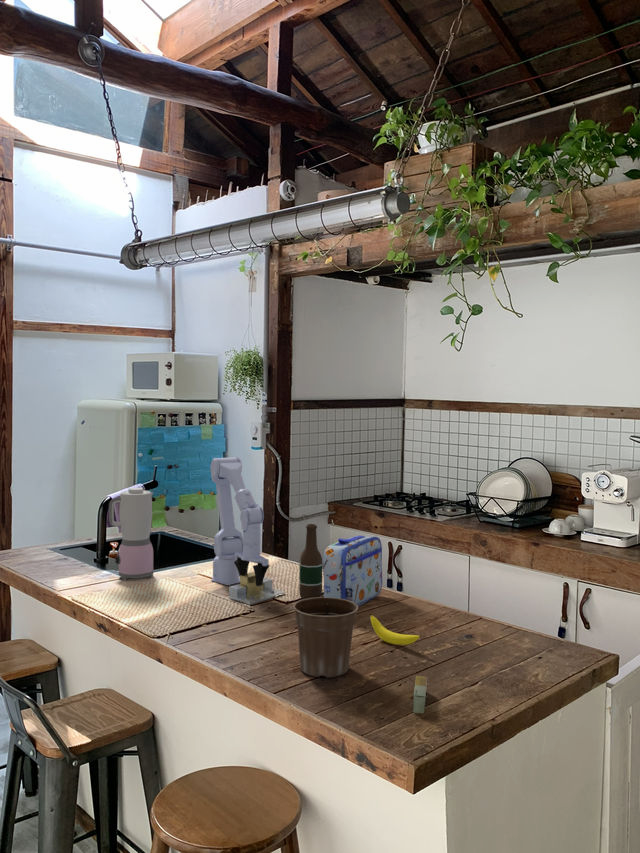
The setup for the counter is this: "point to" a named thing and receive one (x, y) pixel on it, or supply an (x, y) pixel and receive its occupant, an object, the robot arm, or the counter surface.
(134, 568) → the blender
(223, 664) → the counter surface
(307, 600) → the plant pot
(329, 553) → the lunch box
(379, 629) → the banana
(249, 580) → the pale gold block
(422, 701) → the medication box
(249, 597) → the fixed leaf
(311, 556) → the beer bottle
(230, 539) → the robot arm
